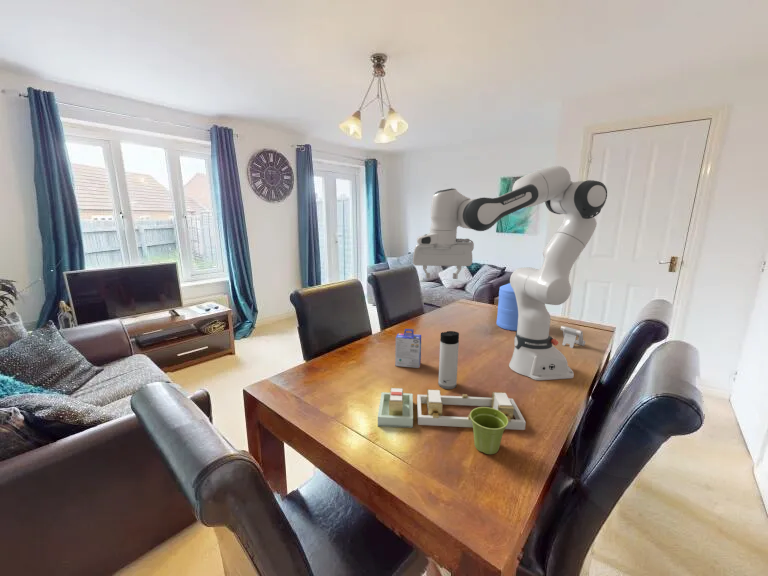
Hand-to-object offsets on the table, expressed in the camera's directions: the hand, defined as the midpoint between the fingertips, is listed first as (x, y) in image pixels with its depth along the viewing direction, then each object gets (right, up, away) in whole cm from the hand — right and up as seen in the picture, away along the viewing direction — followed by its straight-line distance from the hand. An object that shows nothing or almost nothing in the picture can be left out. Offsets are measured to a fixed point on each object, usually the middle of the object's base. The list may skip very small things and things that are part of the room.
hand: (441, 278), depth 114 cm
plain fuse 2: (+15, -42, -16) cm, 47 cm away
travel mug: (+3, -38, +2) cm, 38 cm away
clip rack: (+5, -42, -15) cm, 45 cm away
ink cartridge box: (-10, -34, +17) cm, 40 cm away
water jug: (+48, -24, +61) cm, 81 cm away
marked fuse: (-16, -41, -15) cm, 47 cm away
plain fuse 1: (-5, -42, -14) cm, 44 cm away
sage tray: (-16, -42, -15) cm, 47 cm away
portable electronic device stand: (+67, -30, +37) cm, 82 cm away
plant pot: (+7, -45, -28) cm, 54 cm away
